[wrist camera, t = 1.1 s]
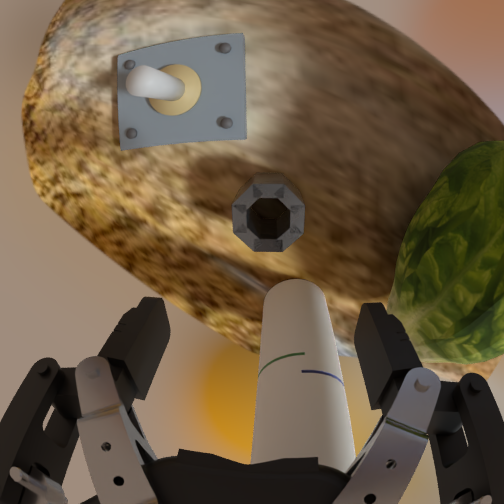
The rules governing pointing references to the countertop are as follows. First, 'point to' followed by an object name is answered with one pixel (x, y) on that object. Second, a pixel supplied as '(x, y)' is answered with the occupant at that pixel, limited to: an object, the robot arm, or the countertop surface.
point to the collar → (268, 230)
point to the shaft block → (183, 92)
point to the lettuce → (456, 263)
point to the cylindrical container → (300, 381)
